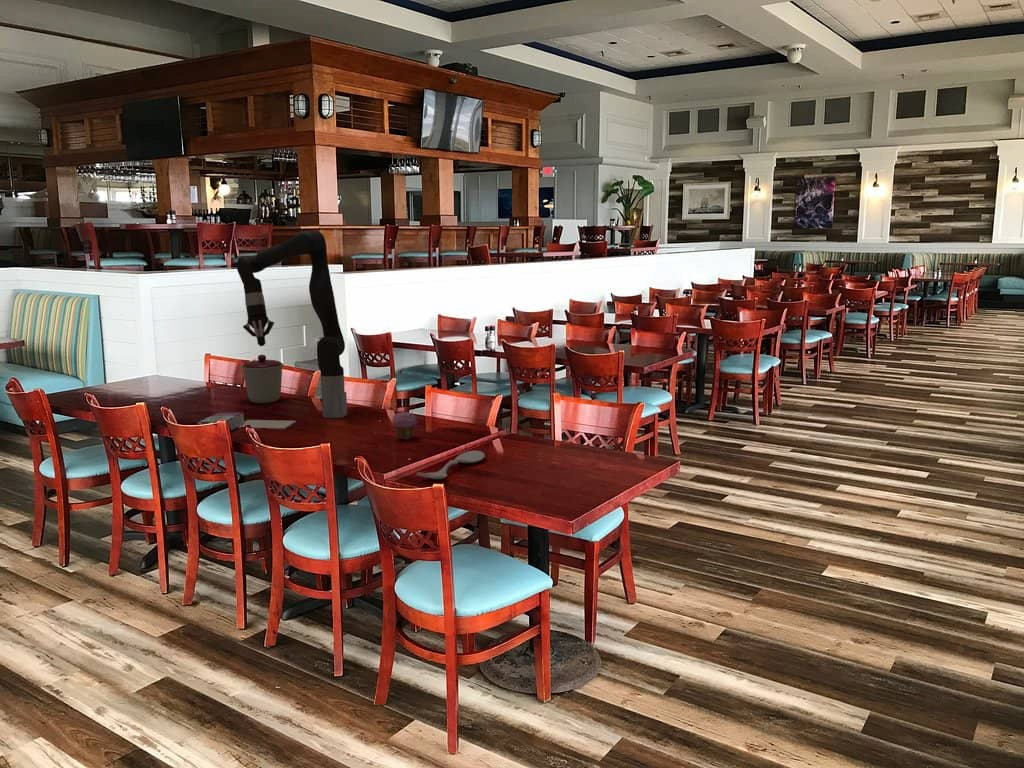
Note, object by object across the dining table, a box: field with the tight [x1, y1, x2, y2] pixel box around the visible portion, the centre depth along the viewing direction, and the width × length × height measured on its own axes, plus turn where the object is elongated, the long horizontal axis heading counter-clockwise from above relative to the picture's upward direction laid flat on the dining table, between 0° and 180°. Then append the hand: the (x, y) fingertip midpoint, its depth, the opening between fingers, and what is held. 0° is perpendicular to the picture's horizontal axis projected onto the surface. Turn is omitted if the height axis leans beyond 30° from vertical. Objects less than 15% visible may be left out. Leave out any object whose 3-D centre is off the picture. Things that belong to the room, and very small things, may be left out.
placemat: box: [237, 419, 297, 430], centre depth 323 cm, size 20×12×1 cm, turn 83°
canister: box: [240, 354, 284, 404], centre depth 365 cm, size 18×18×21 cm
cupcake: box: [392, 411, 418, 441], centre depth 299 cm, size 9×9×10 cm
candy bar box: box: [197, 411, 245, 432], centre depth 316 cm, size 11×5×16 cm
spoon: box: [416, 450, 486, 480], centre depth 261 cm, size 9×32×4 cm, turn 155°
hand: (262, 345), depth 340 cm, fingers closed
